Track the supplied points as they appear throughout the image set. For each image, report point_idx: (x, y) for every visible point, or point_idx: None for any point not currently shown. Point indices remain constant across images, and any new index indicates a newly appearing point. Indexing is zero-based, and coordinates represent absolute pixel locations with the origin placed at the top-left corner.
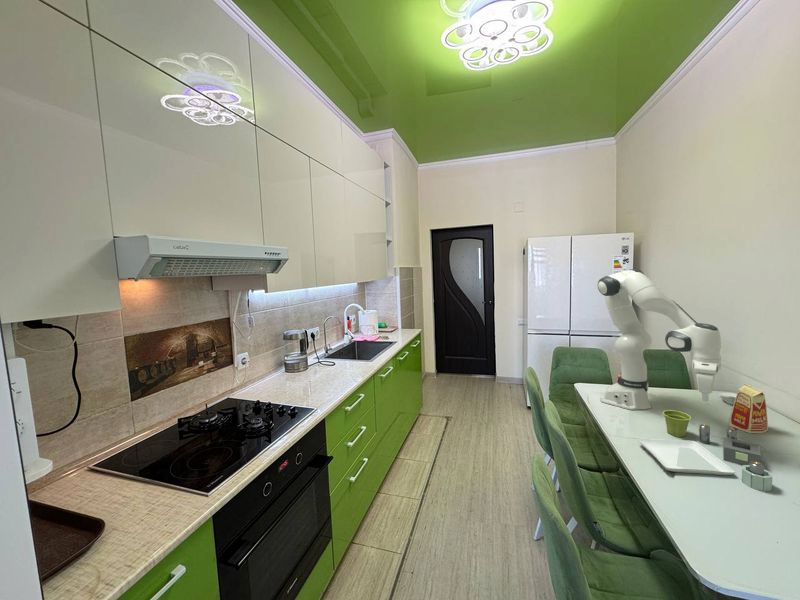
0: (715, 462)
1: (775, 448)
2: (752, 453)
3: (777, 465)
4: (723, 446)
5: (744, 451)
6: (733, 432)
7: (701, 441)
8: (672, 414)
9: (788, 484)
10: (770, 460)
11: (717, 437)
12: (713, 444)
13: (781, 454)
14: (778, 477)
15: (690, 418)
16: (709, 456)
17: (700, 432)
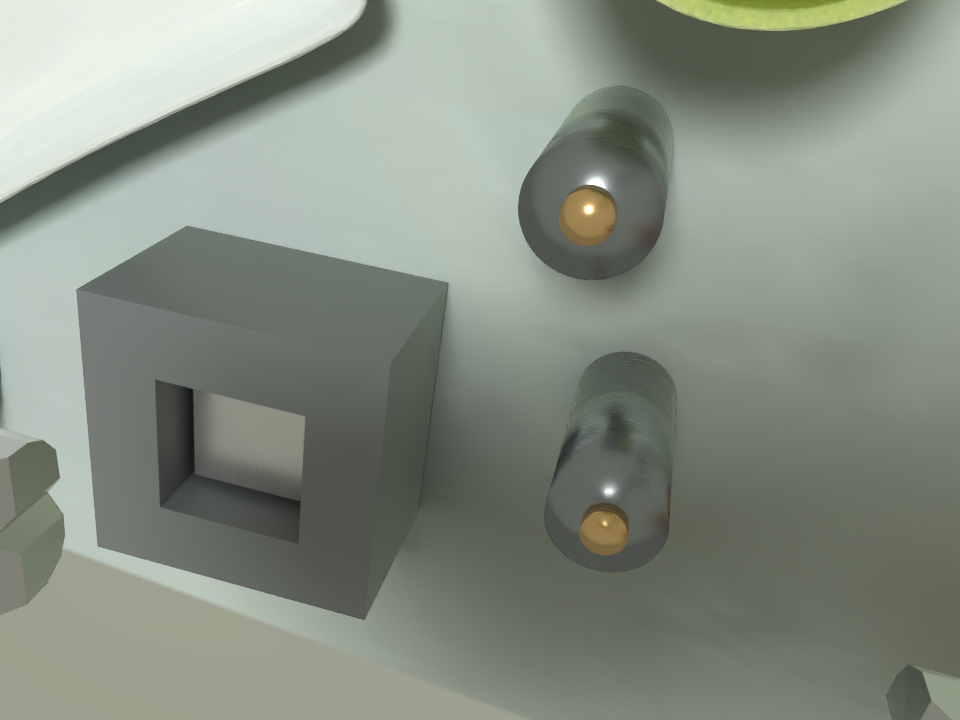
0: (14, 145)
1: (752, 713)
2: (96, 499)
3: (387, 598)
4: (227, 297)
5: (93, 448)
6: (547, 508)
7: (575, 107)
8: None
9: None
10: (458, 588)
11: (845, 320)
12: None
13: (632, 702)
14: None
15: (696, 11)
16: (89, 112)
17: (569, 122)
